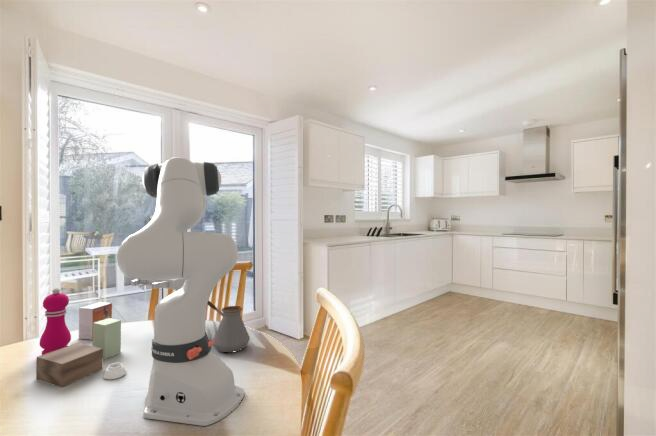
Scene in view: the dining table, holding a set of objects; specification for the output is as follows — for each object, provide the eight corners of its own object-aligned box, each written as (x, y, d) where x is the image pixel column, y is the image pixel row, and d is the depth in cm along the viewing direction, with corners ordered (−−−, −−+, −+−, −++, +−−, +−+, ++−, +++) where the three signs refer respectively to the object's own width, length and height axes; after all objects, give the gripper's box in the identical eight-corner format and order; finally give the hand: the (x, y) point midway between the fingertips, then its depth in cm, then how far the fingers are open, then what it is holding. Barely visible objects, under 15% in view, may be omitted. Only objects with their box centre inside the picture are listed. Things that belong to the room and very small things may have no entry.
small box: (91, 340, 109) (92, 309, 109) (78, 338, 110) (78, 307, 110) (112, 332, 117) (112, 302, 117) (99, 330, 118) (99, 301, 118)
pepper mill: (32, 358, 95) (33, 290, 95) (58, 348, 102) (59, 284, 102) (52, 361, 93) (52, 291, 93) (76, 351, 100) (77, 286, 100)
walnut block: (102, 370, 90) (102, 348, 90) (62, 388, 80) (62, 364, 80) (77, 363, 93) (78, 342, 93) (36, 380, 84) (36, 356, 84)
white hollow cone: (130, 372, 89) (114, 370, 90) (130, 361, 89) (114, 359, 90) (115, 381, 84) (98, 379, 85) (115, 370, 84) (98, 368, 85)
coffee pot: (257, 346, 108) (257, 300, 107) (230, 359, 98) (231, 309, 97) (212, 333, 118) (212, 291, 118) (184, 343, 108) (184, 298, 108)
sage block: (120, 352, 101) (121, 320, 100) (104, 359, 96) (104, 325, 96) (109, 349, 102) (109, 317, 102) (92, 356, 98) (93, 322, 97)
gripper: (154, 266, 127) (120, 272, 114) (196, 271, 120) (165, 278, 107) (153, 282, 127) (120, 290, 114) (196, 288, 120) (165, 297, 107)
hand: (142, 284), depth 110 cm, fingers open, 8 cm apart
